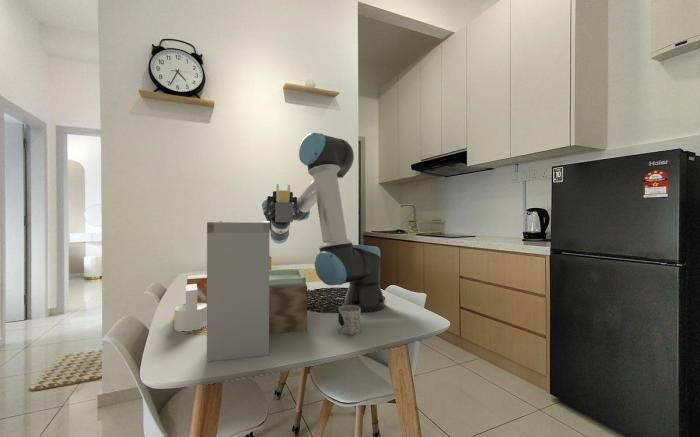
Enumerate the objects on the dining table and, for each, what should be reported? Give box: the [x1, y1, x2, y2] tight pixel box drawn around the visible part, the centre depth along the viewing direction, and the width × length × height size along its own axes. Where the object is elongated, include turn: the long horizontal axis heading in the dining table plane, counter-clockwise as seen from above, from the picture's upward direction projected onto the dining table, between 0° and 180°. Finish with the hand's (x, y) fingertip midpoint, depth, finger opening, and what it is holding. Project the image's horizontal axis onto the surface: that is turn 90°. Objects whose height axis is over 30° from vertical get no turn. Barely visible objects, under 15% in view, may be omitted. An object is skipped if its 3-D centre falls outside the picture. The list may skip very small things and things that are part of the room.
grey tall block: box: [206, 220, 271, 363], centre depth 79 cm, size 14×12×32 cm
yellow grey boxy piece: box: [275, 189, 294, 223], centre depth 102 cm, size 5×19×10 cm, turn 15°
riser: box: [269, 284, 308, 335], centre depth 98 cm, size 13×17×13 cm
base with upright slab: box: [173, 284, 207, 333], centre depth 94 cm, size 9×9×12 cm
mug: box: [337, 304, 362, 335], centre depth 90 cm, size 10×7×7 cm
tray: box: [269, 268, 307, 288], centre depth 98 cm, size 12×16×2 cm
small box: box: [186, 274, 207, 304], centre depth 105 cm, size 8×6×13 cm
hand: (283, 187), depth 103 cm, fingers closed on yellow grey boxy piece, 3 cm apart
